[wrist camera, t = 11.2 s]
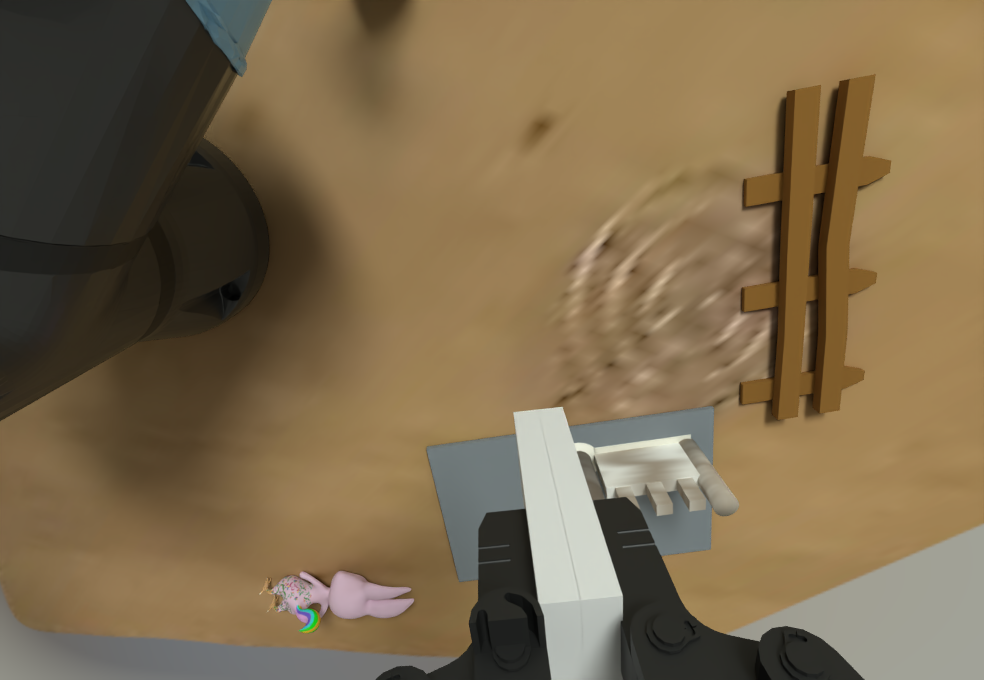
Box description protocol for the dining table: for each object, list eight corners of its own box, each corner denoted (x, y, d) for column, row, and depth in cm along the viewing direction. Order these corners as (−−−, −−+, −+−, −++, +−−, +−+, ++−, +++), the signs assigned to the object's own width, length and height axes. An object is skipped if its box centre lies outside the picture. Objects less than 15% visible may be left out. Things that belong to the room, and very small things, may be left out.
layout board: (459, 578, 48) (459, 582, 48) (426, 446, 42) (426, 450, 42) (709, 546, 47) (711, 550, 47) (711, 406, 41) (714, 408, 41)
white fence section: (565, 474, 43) (585, 553, 35) (563, 452, 42) (582, 527, 34) (695, 456, 42) (747, 531, 34) (696, 433, 42) (749, 505, 33)
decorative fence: (736, 412, 42) (852, 394, 41) (747, 424, 40) (869, 405, 40) (740, 100, 33) (890, 71, 32) (756, 97, 31) (915, 66, 30)
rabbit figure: (289, 597, 51) (423, 602, 48) (255, 652, 45) (405, 661, 42) (271, 552, 48) (411, 555, 46) (233, 605, 43) (390, 612, 40)
